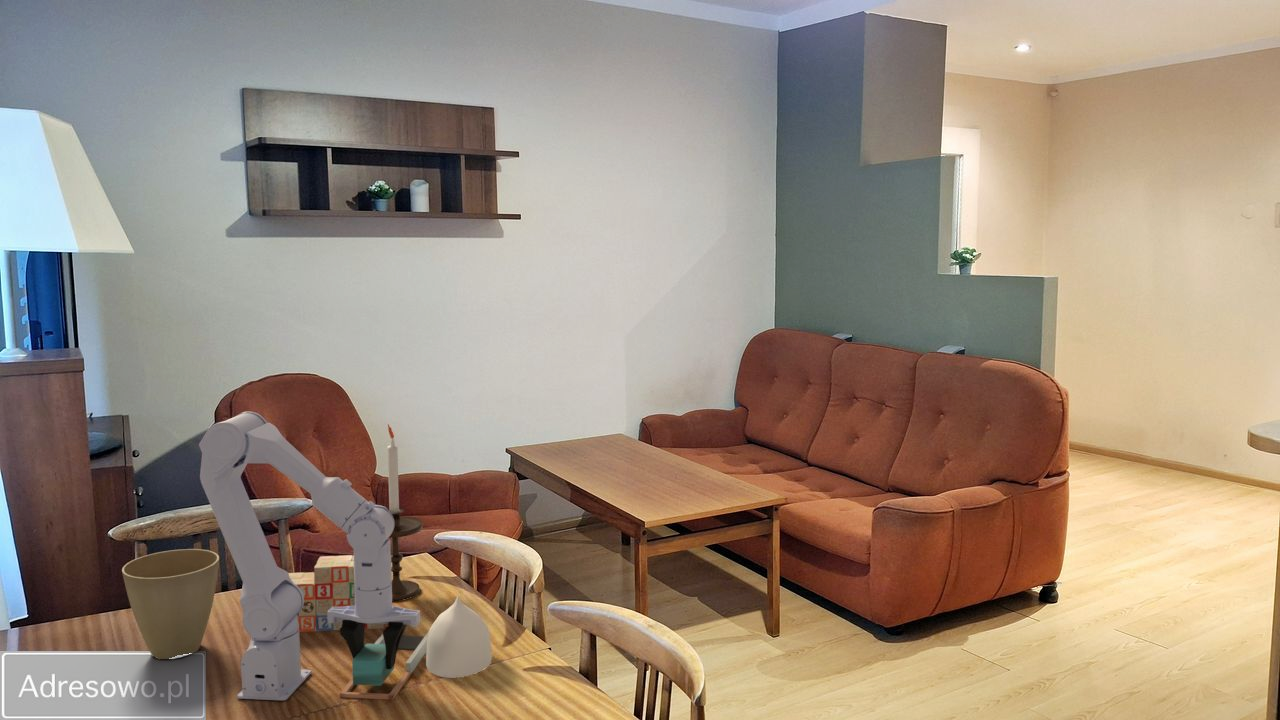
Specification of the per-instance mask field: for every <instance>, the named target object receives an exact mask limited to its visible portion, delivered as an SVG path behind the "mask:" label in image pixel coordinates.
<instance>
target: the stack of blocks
mask: <svg viewBox="0 0 1280 720" xmlns="http://www.w3.org/2000/svg"><path fill="white" fill-rule="evenodd" d="M288 574H289V576H290V578H291V580H292V581H293V583H294V584H296V585H297V586H298V587H299V588H300V589H301V591H302V593H303V596H304V604H303V607H302V609H301V611H300V612H299V613H298V614H297V620H298V623H299V633H302V632H303V633H304V632H322V631H340V628H341V627H342V622H338V621H335V623H328V618H327V611H328V610H330V609H331V608H332V607H344V606H355V593H354V554H353V555H352V554H350V555H344V554H343V555H327V556H325V555H324V556H323V555H322V556H319V558H318V559H317V561H316V564H315V565H314V567H313V571H312V572H288ZM385 625H386V624H383V623H365V630H366V629H385Z"/></svg>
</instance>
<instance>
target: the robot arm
mask: <svg viewBox="0 0 1280 720" xmlns="http://www.w3.org/2000/svg"><path fill="white" fill-rule="evenodd" d="M198 447H199V449H200V451H201V462H200V472H199V480H200V483H201V486H202V488H203V490H204V493H205V495H206V498H207V500H208V503H209V504H210V507H211V510H212V512H213V514H214V516H215V519H216V521H217V524H218V526H219V528H220V532H221V534H222V536H223V538H224V541H225V542H226V543H225V544H226V545H227V547H228V550H229V553H230V556H231V557H232V560H233V562H234V565H235V567H236V569H237V572H238V574H239V576H240V578H241V579H240V580H241V581H242V588H241V592H240V596H239V603H240V606H241V608H242V625H243V629H244V630H245V632H246V633H247V634H248V635H249V636H250V641H249V645H248V647H247V650H245V651H244V653H243V655H242V657H241V660H240V670H241V672H240V673H241V687H242V688H241V689H242V690H241V691H240V692H239V693H237V695H236V696H237V697H236V698H237V699H239V700H241V699H244V700H266V701H286V700H288V699H289V698H290V697H291V696H292V694H293V693H295V691H296V690H297V689H298V688H299V687H300V686H301V685H302V684H303V683H304V681H305V680H306V679H307V678H308V677H309V676H310V675H311V674H312V670H310V669H301V668H302V667H301V666H302V665H301V644H300V641H301V640H300V631H299V623H298V620H297V614H298V613H299V612H300V611H301V609H302V607H303V604H304V596H303V593H302V591H301V589H300V588H299V587H298V586H297V585H296V584H294V583H293V581H292V580H291V578H290V576H289V574H288V573H289V572H288V571H286V570H285V569H283V568H281V567H279V566H278V565H277V562H276V560H275V558H274V556H273V553H272V551H271V548H270V545H269V544H268V543H269V542H268V541H267V538H266V536H265V533H264V531H263V529H262V526H261V524H260V521H259V520H258V517H257V514H256V512H255V510H254V507H253V505H252V502H251V500H250V497H249V495H248V492H247V491H246V488H245V485H244V483H243V480H242V474H243V472H244V470H245V469H246V467H247V465H248V464H269V465H270V466H272V467H273V468H275V469H276V470H277V471H278V472H280V473H282V474H283V475H284V476H285V477H287V478H288V479H290V480H291V481H293V483H295V484H297V486H299V487H301V488H302V489H304V490H305V491H306V492H308V493H309V494H310V497H311V505H312V507H314V508H315V509H316V510H318V511H319V512H320V513H321V514H322V515H323V516H325V517H326V518H327V519H328V520H329V521H331V522H332V523H333V524H335V525H336V526H337V527H338V528H340V529H341V530H342V531H343V532H345V533H347V534H346V540H347V542H348V545H349V546H350V547H351V548H352V549H353V556H354V593H355V606H344V607H332V608H331V609H330V610H328V611H327V618H328V623H335V621H338V622H342V627H341V628H340V630H339V635H340V636H341V637H342V639H343V640H344V642H345V643H346V645H347V647H348V648H349V651H350V653H351V656H352V658H353V659H354V658H355V657H356V655H357V654H358V653H359V652H360V651H361V650H362V648H363V647H364V646H365V630H366V629H365V623H383V624H385V625H387V626H386V627H384V628H383V630H382V634H383V637H384V641H385V648H386V668H387V669H391V668H392V667H393V666H394V667H395V665H396V659H397V653H398V650H399V649H398V646H399V643H400V640H401V637H402V636H404V635H403V634H404V632H405V630H406V628H407V626H408V625H409V626H410V627H413V628H417V627H418V626H419V624H420V623H421V610H420V609H419V610H418V609H417V610H416V609H415V610H414V609H410V608H405V607H400V606H397V605H396V606H395V605H393V602H392V580H393V572H392V571H391V567H392V562H391V554H392V551H391V538H388V537H389V536H390V535H391V534H392V532H393V530H394V525H395V522H394V518H393V516H392V514H391V513H390V512H389V511H388V510H389V509H388V507H386V506H383V505H380V504H376V503H375V502H373V501H372V500H369V501H368V500H367V499H366V498H365V497H363V496H362V495H361V494H360V493H358V492H357V491H356V490H355V489H353V488H352V487H351V486H352V485H353V484H352V482H350V481H349V479H347V478H346V479H344V480H343V479H341V477H339V476H333V477H332V476H331V477H329V476H326V475H325V474H324V473H323V472H322V471H320V470H319V469H318V468H317V467H316V466H315V465H314V464H313V463H312V462H311V461H309V459H307V458H306V457H305V456H304V455H303V454H302V453H301V452H299V450H298V449H296V447H295V446H293V445H292V444H291V443H290V442H289V441H288V440H287V439H286V438H285V437H284V436H283V435H282V434H281V432H280V430H279V429H278V428H277V427H276V426H275V425H274V424H272V423H271V422H267V420H266V419H265V417H263V416H262V415H261V414H260V413H258V412H254V411H243V412H240V413H239V414H237V415H236V416H233V417H231V418H229V419H226V420H224V421H220V422H216V423H215V424H214V423H213V425H211V426H210V427H209V428H208V429H207V431H206V433H205V434H204V436H203V437H202V439H201V440H200V442H199V443H198ZM353 659H352V660H353Z"/></svg>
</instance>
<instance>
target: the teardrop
mask: <svg viewBox="0 0 1280 720" xmlns="http://www.w3.org/2000/svg"><path fill="white" fill-rule="evenodd" d="M429 630H430V631H429ZM429 630H428V631H429V634H428V638H427V652H426V653H425V655H426V656H425V657H426V658H425V667H426V668H427V671H428V672H429V673H430V674H433V675H435V676H438V677H439V678H448V679H457V678H456V677H458V678H459V677H462V678H465V677H464V676H466V677H469V676H468V675H471V676H473V675H472V674H475V673H477V672H479V671H481V670H483V669H484V668H487V667H488V665H489V664H490V663H491V664H492V662H491V660H492V661H493V654H492V645H491V644H492V643H491V642H492V641H491V633H490V630H489V627H488V625H487V624H486V623H485V621H484V620H483V618H482V617H481V616H480V615H479V614H478V613H477V612H475V611H474V610H473V609H471V608H470V607H469V606H467V605H465V604H464V603H463V602H462V601H461V598H460V597H459V595H457V597H456V598H455V600H454V602H453V604H452V605H450V606H449V607H448V608H447V609H446V610H444V611H443V612H441V613H440V614H439V615H438V617H437V618H436V619H435V621H434V622H433V623H432V625H431V626H430V629H429ZM488 668H489V667H488ZM488 668H487V669H488ZM459 679H460V678H459Z"/></svg>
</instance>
